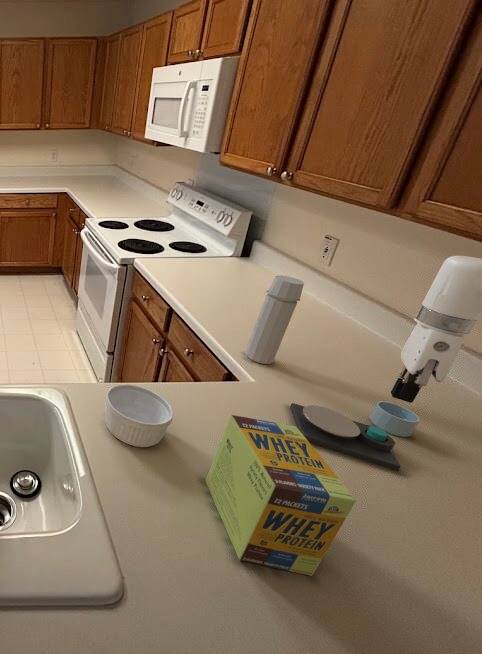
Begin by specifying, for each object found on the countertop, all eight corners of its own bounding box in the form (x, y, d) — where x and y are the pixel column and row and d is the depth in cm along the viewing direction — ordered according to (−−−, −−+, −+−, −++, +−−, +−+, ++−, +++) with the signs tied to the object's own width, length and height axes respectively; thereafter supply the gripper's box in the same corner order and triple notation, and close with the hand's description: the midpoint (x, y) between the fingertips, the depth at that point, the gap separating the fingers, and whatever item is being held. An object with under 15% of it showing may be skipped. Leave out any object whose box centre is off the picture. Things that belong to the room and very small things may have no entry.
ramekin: (111, 401, 96) (117, 376, 93) (170, 426, 89) (179, 400, 86) (91, 432, 85) (97, 405, 83) (157, 463, 79) (166, 435, 76)
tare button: (381, 435, 88) (385, 429, 87) (387, 443, 85) (390, 438, 85) (364, 429, 89) (367, 424, 88) (369, 438, 86) (372, 432, 86)
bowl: (402, 423, 96) (411, 407, 95) (416, 442, 90) (426, 426, 89) (363, 412, 99) (372, 397, 98) (374, 430, 93) (383, 414, 92)
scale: (376, 433, 92) (382, 422, 91) (400, 472, 82) (407, 461, 80) (289, 407, 99) (294, 397, 98) (301, 440, 88) (306, 429, 87)
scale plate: (351, 416, 92) (351, 415, 92) (366, 444, 84) (367, 443, 84) (298, 401, 96) (298, 399, 96) (307, 426, 88) (308, 425, 88)
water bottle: (274, 369, 115) (308, 287, 106) (242, 359, 119) (272, 279, 109) (273, 355, 122) (304, 277, 113) (242, 346, 126) (271, 270, 117)
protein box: (239, 562, 61) (275, 486, 56) (203, 480, 76) (229, 412, 70) (314, 578, 60) (360, 501, 54) (264, 491, 74) (296, 423, 69)
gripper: (487, 341, 71) (435, 425, 78) (459, 313, 83) (416, 389, 90) (427, 326, 75) (383, 408, 82) (408, 302, 87) (371, 375, 93)
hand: (400, 398), depth 86 cm, fingers closed
